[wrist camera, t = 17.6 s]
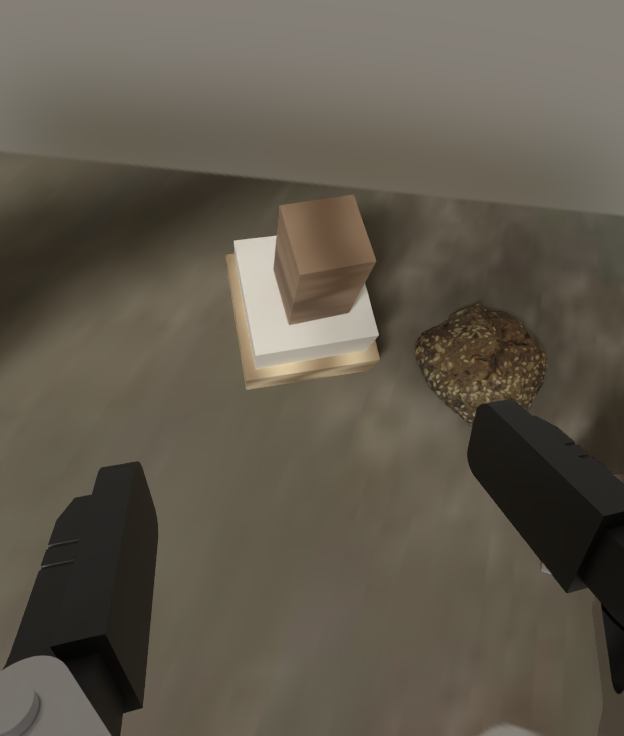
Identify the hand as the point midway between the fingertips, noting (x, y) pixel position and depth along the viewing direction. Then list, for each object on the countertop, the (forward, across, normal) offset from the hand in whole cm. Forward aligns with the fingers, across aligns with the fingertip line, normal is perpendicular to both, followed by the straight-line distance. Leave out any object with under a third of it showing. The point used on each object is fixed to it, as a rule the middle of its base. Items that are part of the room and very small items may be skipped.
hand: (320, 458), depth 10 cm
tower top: (+28, -5, +8) cm, 29 cm away
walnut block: (+24, -5, +5) cm, 26 cm away
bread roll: (+25, -23, +15) cm, 38 cm away
